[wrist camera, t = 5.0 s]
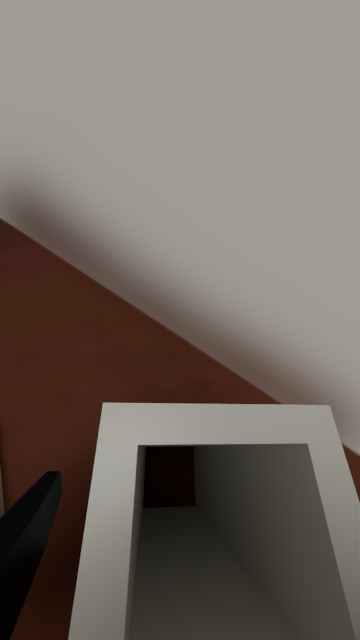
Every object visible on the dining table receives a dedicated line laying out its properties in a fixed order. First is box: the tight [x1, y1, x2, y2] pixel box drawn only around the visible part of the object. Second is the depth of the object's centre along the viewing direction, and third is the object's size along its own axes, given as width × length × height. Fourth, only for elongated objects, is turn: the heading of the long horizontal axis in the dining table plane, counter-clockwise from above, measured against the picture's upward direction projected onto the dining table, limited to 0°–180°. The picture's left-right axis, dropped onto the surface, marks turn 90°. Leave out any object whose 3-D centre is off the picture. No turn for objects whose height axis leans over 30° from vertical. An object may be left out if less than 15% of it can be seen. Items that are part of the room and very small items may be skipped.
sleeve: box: [68, 403, 360, 640], centre depth 9 cm, size 5×5×13 cm
